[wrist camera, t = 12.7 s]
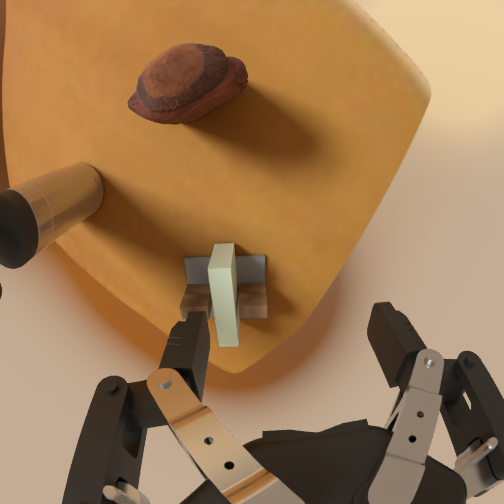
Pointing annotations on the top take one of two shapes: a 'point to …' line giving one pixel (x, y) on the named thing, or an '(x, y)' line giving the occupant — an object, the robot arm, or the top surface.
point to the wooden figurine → (187, 84)
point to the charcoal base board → (246, 270)
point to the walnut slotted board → (249, 300)
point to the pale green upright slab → (225, 294)
